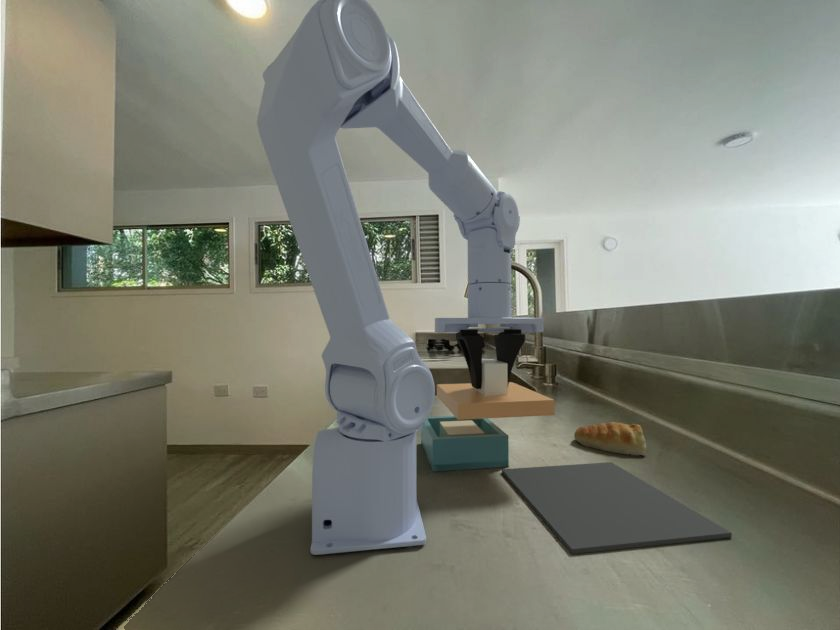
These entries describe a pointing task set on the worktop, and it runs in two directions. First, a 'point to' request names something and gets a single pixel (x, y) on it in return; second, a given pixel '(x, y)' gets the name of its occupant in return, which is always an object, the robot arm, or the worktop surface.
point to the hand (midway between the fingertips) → (489, 387)
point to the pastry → (613, 438)
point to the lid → (493, 396)
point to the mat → (608, 508)
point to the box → (463, 444)
